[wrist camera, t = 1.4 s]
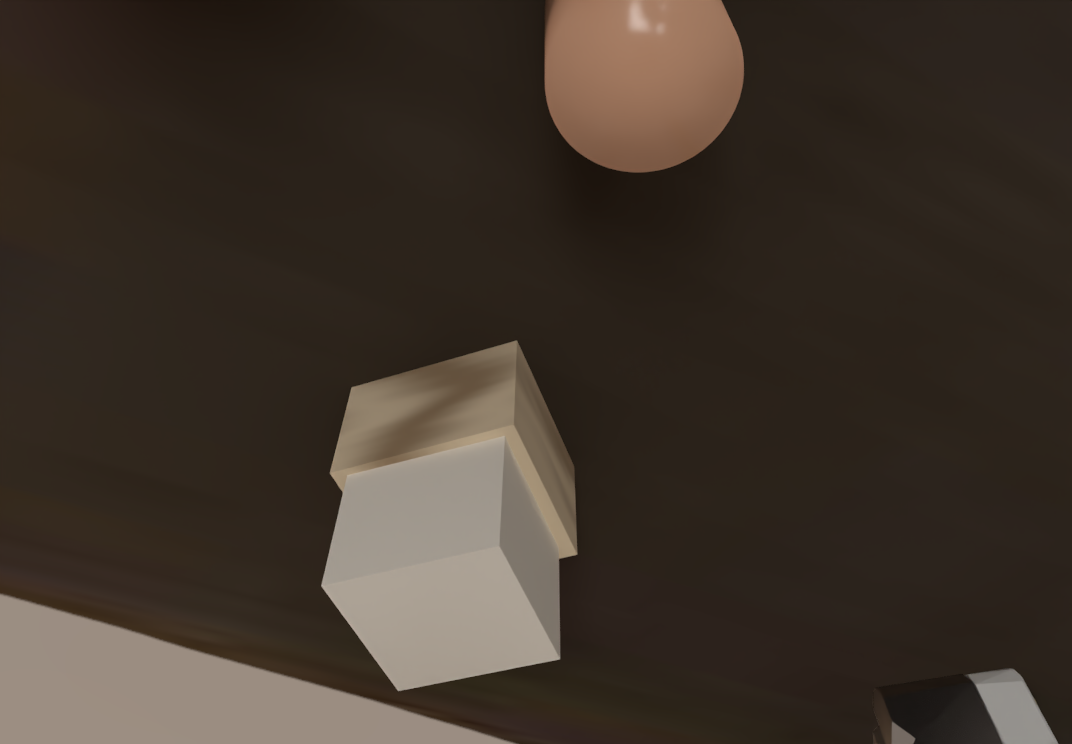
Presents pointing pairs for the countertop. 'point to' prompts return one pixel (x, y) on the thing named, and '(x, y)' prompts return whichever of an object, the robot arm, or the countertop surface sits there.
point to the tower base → (463, 426)
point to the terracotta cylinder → (641, 78)
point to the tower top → (446, 566)
